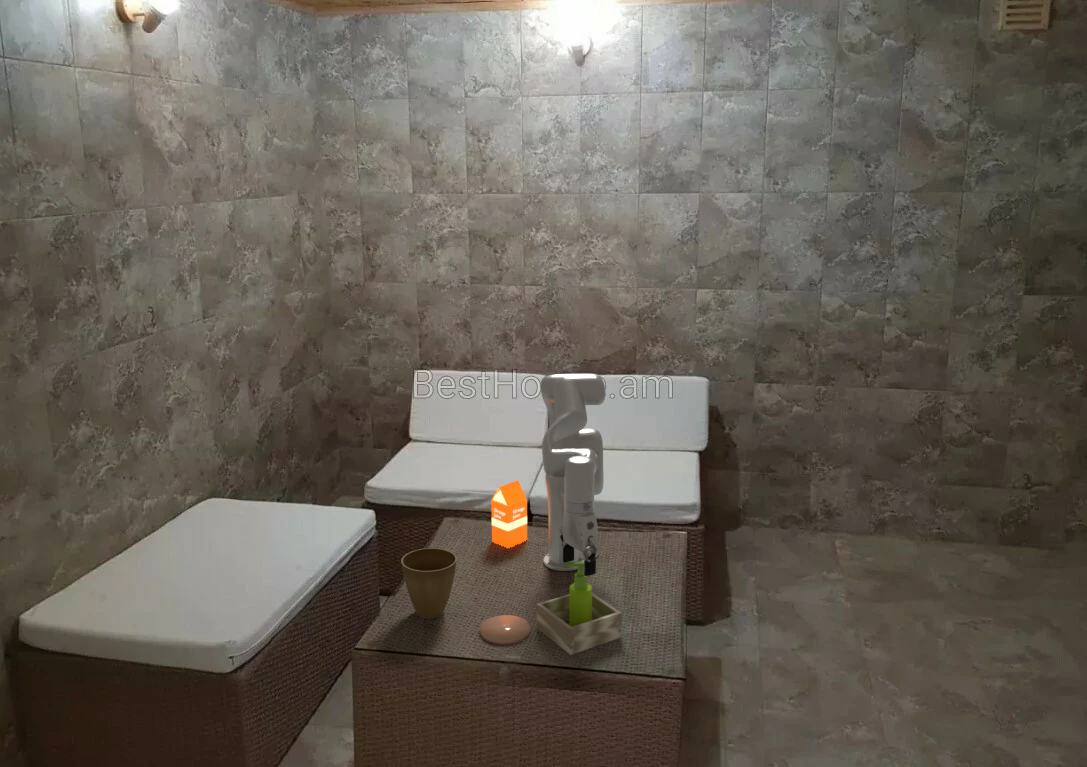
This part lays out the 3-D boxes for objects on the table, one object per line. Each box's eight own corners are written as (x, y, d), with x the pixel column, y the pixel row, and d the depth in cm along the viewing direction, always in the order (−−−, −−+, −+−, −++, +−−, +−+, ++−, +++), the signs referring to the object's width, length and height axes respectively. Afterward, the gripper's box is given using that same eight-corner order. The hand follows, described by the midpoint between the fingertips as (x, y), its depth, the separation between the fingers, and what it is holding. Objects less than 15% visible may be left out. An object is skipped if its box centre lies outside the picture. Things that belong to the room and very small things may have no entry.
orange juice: (527, 540, 295) (527, 482, 290) (508, 548, 289) (507, 490, 284) (510, 533, 300) (510, 477, 295) (491, 541, 294) (490, 484, 289)
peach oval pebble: (513, 614, 247) (513, 610, 247) (539, 635, 237) (538, 631, 236) (471, 627, 241) (471, 623, 240) (495, 649, 230) (495, 645, 230)
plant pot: (435, 631, 239) (433, 575, 235) (392, 616, 247) (389, 562, 243) (469, 607, 251) (467, 554, 247) (427, 594, 259) (425, 543, 255)
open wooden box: (586, 611, 249) (586, 588, 247) (621, 637, 236) (621, 612, 234) (536, 627, 240) (536, 603, 239) (570, 655, 227) (570, 629, 226)
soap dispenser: (564, 627, 241) (564, 558, 236) (590, 626, 241) (590, 557, 236) (566, 638, 235) (566, 568, 230) (593, 637, 235) (593, 567, 230)
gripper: (611, 512, 224) (610, 576, 228) (572, 492, 238) (572, 553, 242) (586, 518, 220) (586, 583, 224) (548, 498, 234) (548, 559, 238)
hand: (579, 567), depth 233 cm, fingers open, 9 cm apart
